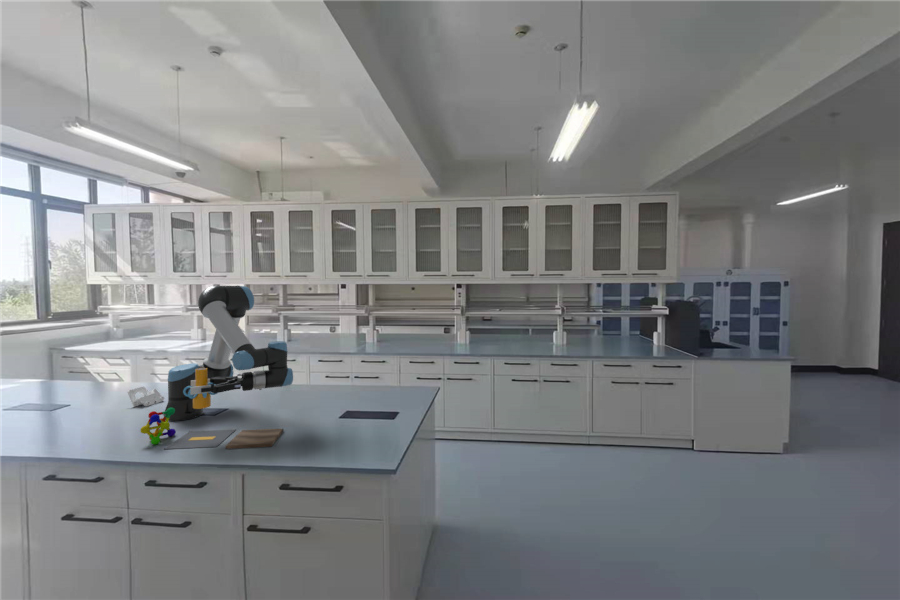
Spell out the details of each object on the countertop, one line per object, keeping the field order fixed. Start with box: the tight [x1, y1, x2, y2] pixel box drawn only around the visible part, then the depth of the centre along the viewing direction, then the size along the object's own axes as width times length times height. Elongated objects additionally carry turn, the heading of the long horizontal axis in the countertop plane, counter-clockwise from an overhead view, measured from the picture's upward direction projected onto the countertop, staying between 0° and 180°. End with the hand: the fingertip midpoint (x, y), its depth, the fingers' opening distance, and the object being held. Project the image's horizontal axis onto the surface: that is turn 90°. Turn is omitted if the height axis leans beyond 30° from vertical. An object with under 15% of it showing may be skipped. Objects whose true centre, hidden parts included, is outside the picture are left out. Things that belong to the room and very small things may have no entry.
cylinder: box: [183, 368, 218, 410], centre depth 153 cm, size 12×10×15 cm
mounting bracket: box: [127, 386, 165, 407], centre depth 200 cm, size 12×6×11 cm, turn 172°
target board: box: [225, 428, 284, 450], centre depth 153 cm, size 16×16×1 cm
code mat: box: [163, 429, 236, 450], centre depth 153 cm, size 18×18×1 cm
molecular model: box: [140, 408, 177, 445], centre depth 152 cm, size 12×7×12 cm, turn 0°
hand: (190, 387), depth 151 cm, fingers closed on cylinder, 12 cm apart
